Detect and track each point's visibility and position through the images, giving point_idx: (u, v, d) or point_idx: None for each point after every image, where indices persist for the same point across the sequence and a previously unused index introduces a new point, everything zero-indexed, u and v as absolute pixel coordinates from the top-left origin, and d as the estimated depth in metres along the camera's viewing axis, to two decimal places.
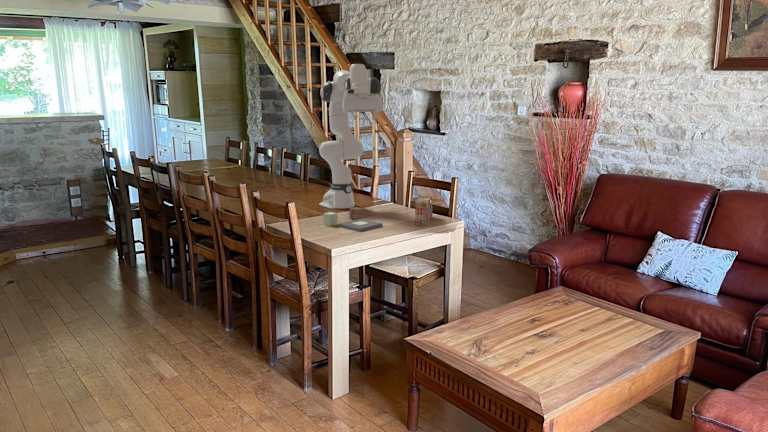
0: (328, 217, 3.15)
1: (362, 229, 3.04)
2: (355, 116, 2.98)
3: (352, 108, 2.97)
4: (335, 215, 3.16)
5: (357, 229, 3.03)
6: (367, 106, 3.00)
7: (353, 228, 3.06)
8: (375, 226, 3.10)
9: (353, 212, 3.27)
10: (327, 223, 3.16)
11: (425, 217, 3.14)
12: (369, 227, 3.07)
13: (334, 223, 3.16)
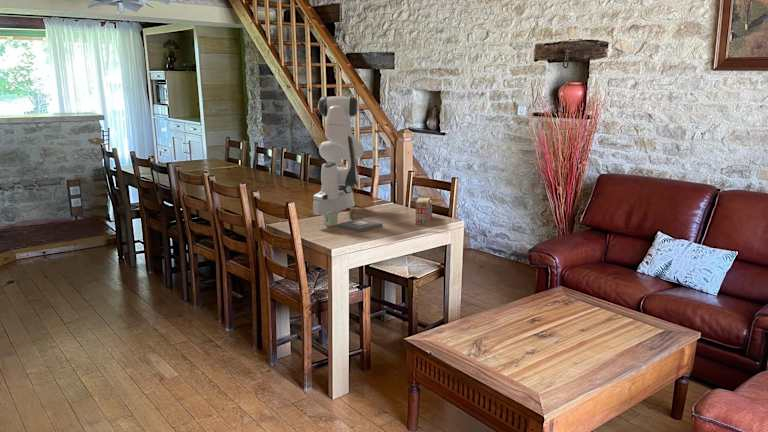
0: (328, 216, 3.15)
1: (362, 229, 3.04)
2: (326, 219, 3.14)
3: (323, 213, 3.11)
4: (335, 215, 3.16)
5: (357, 229, 3.03)
6: (335, 209, 3.16)
7: (353, 228, 3.06)
8: (375, 226, 3.10)
9: (353, 212, 3.27)
10: (327, 223, 3.16)
11: (425, 217, 3.15)
12: (369, 227, 3.07)
13: (334, 223, 3.16)
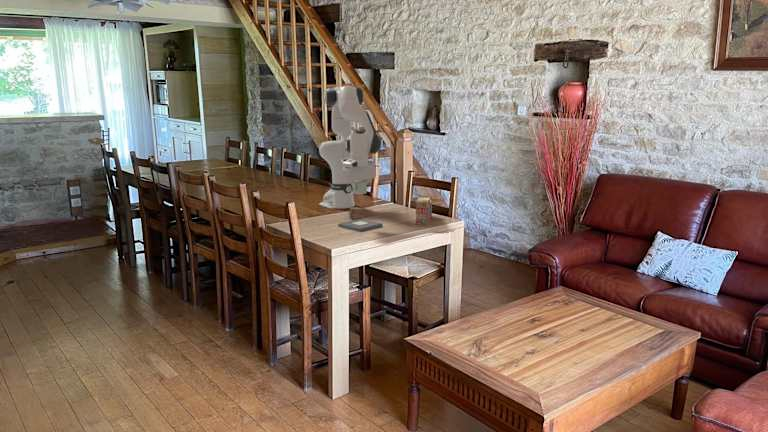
0: (357, 185, 3.07)
1: (362, 229, 3.04)
2: (356, 187, 3.07)
3: (352, 181, 3.03)
4: (364, 183, 3.08)
5: (357, 229, 3.03)
6: (364, 177, 3.08)
7: (353, 228, 3.06)
8: (375, 226, 3.10)
9: (353, 212, 3.27)
10: (356, 191, 3.08)
11: (426, 216, 3.15)
12: (369, 227, 3.07)
13: (363, 192, 3.08)
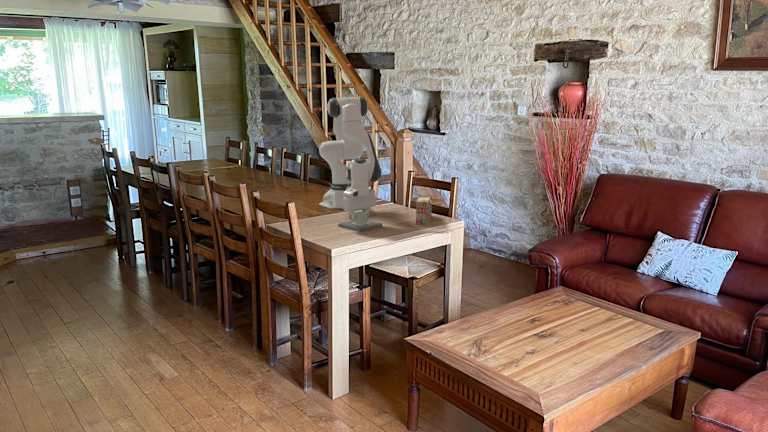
0: (357, 215, 3.10)
1: (362, 229, 3.04)
2: (354, 216, 3.09)
3: (353, 210, 3.06)
4: (365, 213, 3.11)
5: (357, 229, 3.03)
6: (365, 206, 3.12)
7: (353, 228, 3.06)
8: (375, 226, 3.10)
9: None
10: (357, 221, 3.11)
11: (426, 216, 3.16)
12: (369, 227, 3.07)
13: (364, 221, 3.12)
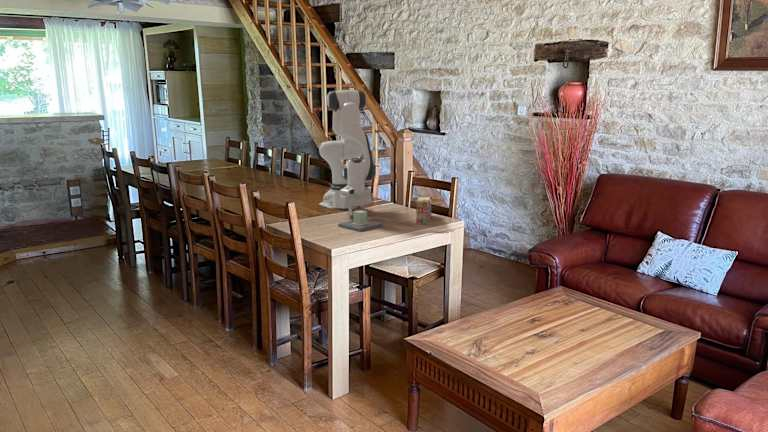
0: (357, 215, 3.10)
1: (362, 229, 3.04)
2: None
3: (349, 207, 3.23)
4: (365, 213, 3.11)
5: (357, 229, 3.03)
6: (361, 203, 3.29)
7: (353, 228, 3.06)
8: (375, 226, 3.10)
9: None
10: (357, 221, 3.11)
11: (426, 216, 3.17)
12: (369, 227, 3.07)
13: (364, 221, 3.12)
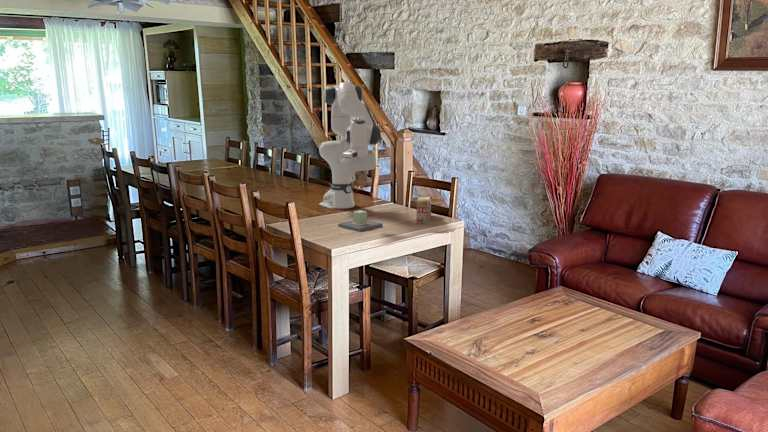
0: (357, 215, 3.10)
1: (362, 229, 3.04)
2: (356, 178, 3.06)
3: (352, 171, 3.03)
4: (365, 213, 3.11)
5: (357, 229, 3.03)
6: (364, 168, 3.08)
7: (353, 228, 3.06)
8: (375, 226, 3.10)
9: (357, 177, 3.07)
10: (357, 221, 3.11)
11: (426, 216, 3.17)
12: (369, 227, 3.07)
13: (364, 221, 3.12)
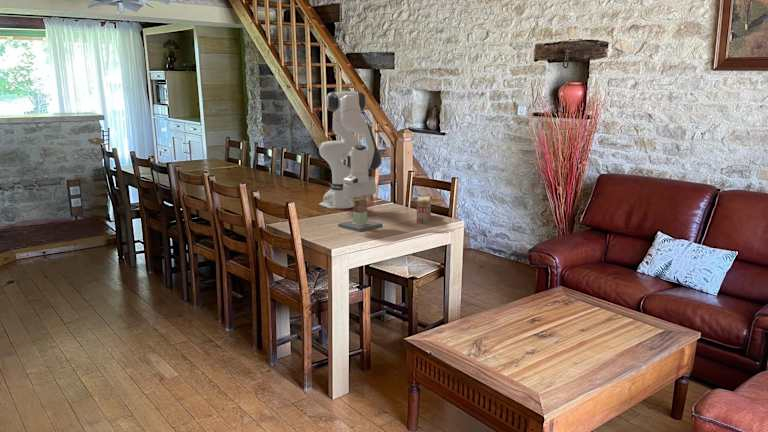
0: (357, 215, 3.10)
1: (362, 229, 3.04)
2: (354, 204, 3.07)
3: (353, 197, 3.05)
4: (365, 213, 3.11)
5: (357, 229, 3.03)
6: (364, 193, 3.10)
7: (353, 228, 3.06)
8: (375, 226, 3.10)
9: (357, 204, 3.09)
10: (357, 221, 3.11)
11: (426, 215, 3.18)
12: (369, 227, 3.07)
13: (364, 221, 3.12)
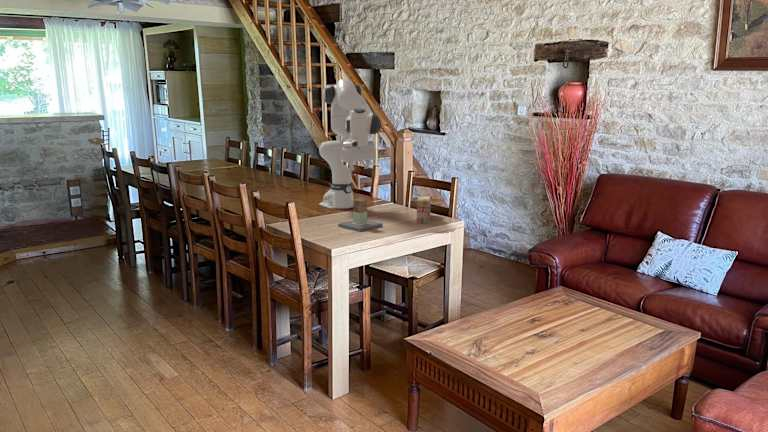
0: (357, 215, 3.10)
1: (362, 229, 3.04)
2: (353, 168, 3.03)
3: (352, 161, 3.01)
4: (365, 213, 3.11)
5: (357, 229, 3.03)
6: (364, 158, 3.06)
7: (353, 228, 3.06)
8: (375, 226, 3.10)
9: (357, 204, 3.09)
10: (357, 221, 3.11)
11: (426, 215, 3.18)
12: (369, 227, 3.07)
13: (364, 221, 3.12)
